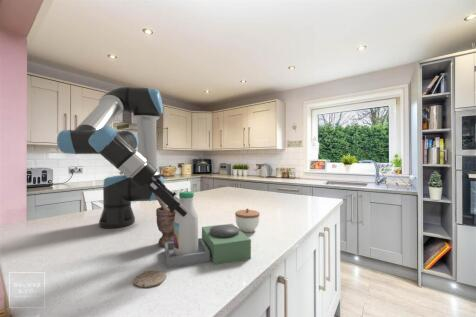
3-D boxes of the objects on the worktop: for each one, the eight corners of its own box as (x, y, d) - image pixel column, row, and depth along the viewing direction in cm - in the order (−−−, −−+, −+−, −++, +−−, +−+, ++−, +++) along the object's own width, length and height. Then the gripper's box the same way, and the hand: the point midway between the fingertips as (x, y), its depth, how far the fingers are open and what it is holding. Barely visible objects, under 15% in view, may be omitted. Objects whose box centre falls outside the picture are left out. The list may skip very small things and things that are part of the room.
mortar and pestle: (143, 246, 81) (143, 190, 80) (157, 237, 89) (157, 187, 89) (173, 248, 78) (173, 191, 78) (184, 239, 87) (184, 188, 87)
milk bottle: (200, 249, 76) (201, 190, 76) (194, 259, 68) (194, 194, 68) (178, 248, 77) (179, 190, 77) (169, 258, 69) (170, 193, 69)
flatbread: (127, 283, 57) (127, 279, 57) (151, 270, 64) (151, 266, 64) (149, 292, 53) (149, 288, 53) (172, 277, 60) (172, 273, 60)
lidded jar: (252, 235, 92) (252, 213, 92) (230, 231, 97) (230, 209, 97) (263, 228, 101) (263, 208, 101) (243, 224, 106) (243, 205, 106)
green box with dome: (201, 242, 84) (201, 223, 84) (232, 238, 88) (232, 220, 88) (214, 264, 67) (214, 240, 67) (250, 258, 71) (250, 235, 71)
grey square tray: (164, 250, 76) (164, 242, 76) (201, 245, 81) (201, 238, 81) (167, 268, 65) (167, 258, 65) (209, 261, 69) (209, 252, 69)
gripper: (132, 175, 78) (176, 215, 83) (124, 184, 55) (186, 237, 60) (148, 160, 80) (190, 199, 85) (148, 162, 57) (205, 216, 62)
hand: (189, 215), depth 73 cm, fingers open, 13 cm apart
